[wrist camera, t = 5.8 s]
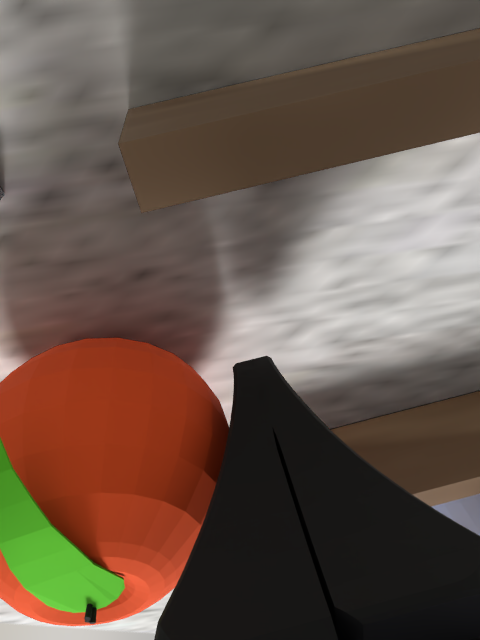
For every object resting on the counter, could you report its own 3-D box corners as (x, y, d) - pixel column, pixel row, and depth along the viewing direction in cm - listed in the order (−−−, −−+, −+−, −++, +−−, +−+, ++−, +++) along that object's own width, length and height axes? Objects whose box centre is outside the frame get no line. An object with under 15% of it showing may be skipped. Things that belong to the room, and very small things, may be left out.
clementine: (-79, 309, 12) (-308, 589, 6) (156, 221, 11) (158, 425, 6) (75, 467, 16) (31, 709, 11) (243, 409, 16) (293, 625, 10)
